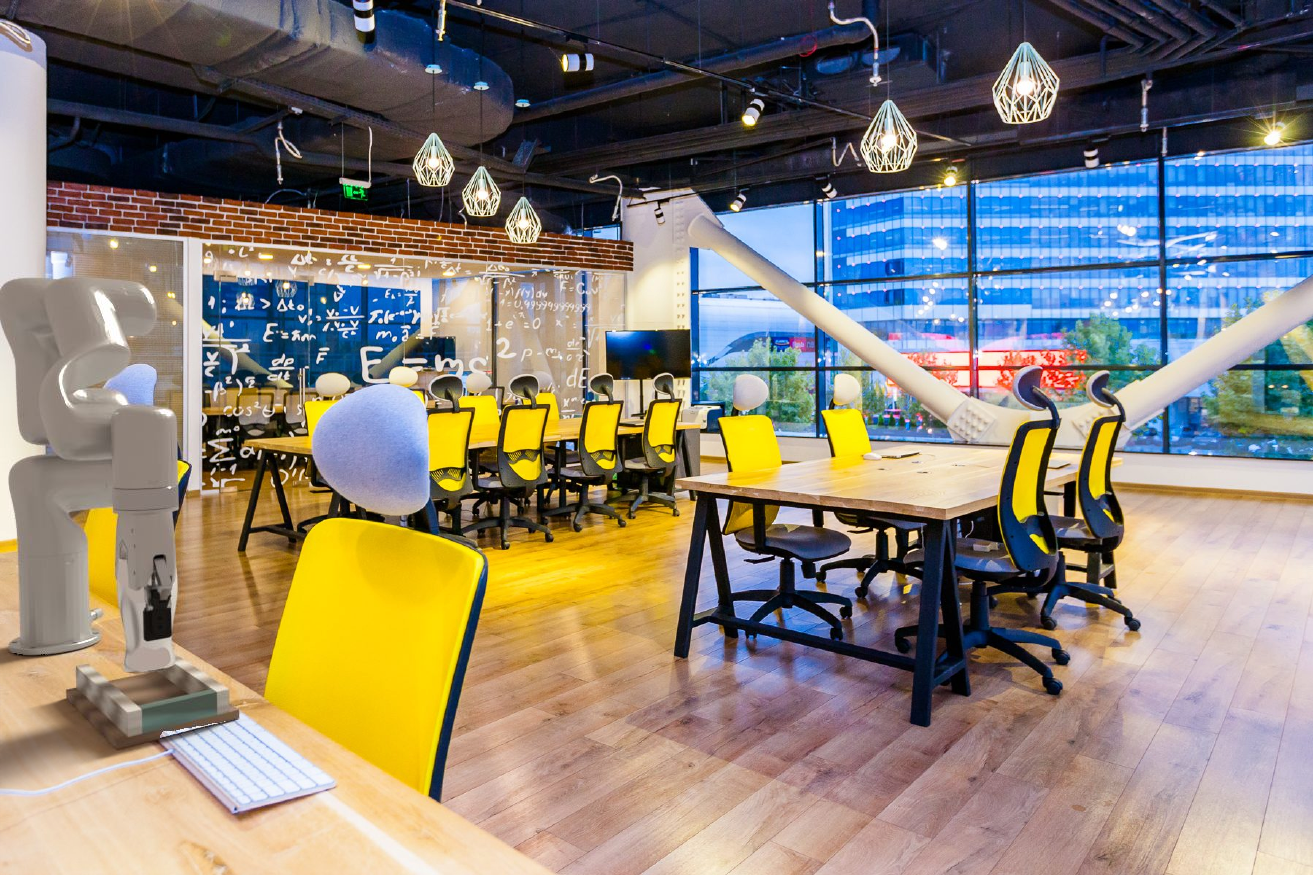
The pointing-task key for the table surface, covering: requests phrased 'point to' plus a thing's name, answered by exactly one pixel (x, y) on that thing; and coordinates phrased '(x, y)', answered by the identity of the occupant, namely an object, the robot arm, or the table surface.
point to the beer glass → (131, 608)
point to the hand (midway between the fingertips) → (149, 632)
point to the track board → (150, 702)
